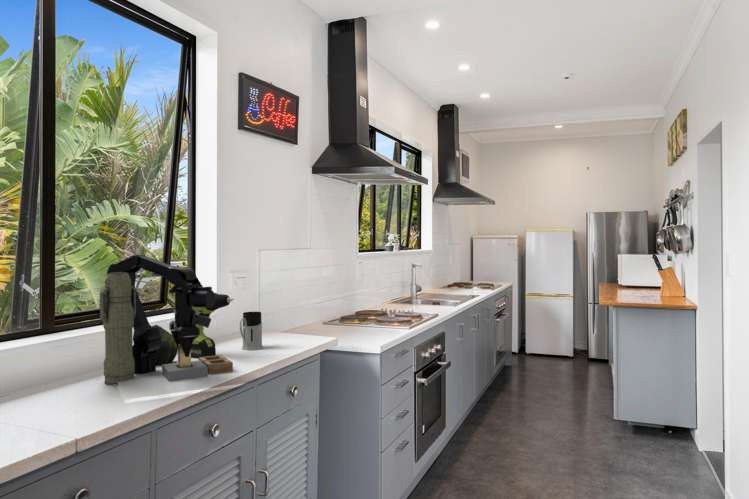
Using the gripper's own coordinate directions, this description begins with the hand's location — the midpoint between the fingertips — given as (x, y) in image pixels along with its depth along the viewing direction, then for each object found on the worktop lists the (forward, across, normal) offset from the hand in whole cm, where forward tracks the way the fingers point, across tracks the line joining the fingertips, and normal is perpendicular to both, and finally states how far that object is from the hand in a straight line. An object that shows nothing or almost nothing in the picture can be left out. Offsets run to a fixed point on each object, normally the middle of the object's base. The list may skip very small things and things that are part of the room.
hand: (184, 354), depth 180 cm
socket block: (+8, 0, 0) cm, 8 cm away
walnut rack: (+8, +4, -11) cm, 14 cm away
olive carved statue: (+8, +6, +19) cm, 21 cm away
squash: (+8, +26, +5) cm, 28 cm away
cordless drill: (+8, +30, -15) cm, 34 cm away
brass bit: (+7, 0, 0) cm, 7 cm away
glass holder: (+8, +36, -33) cm, 49 cm away
